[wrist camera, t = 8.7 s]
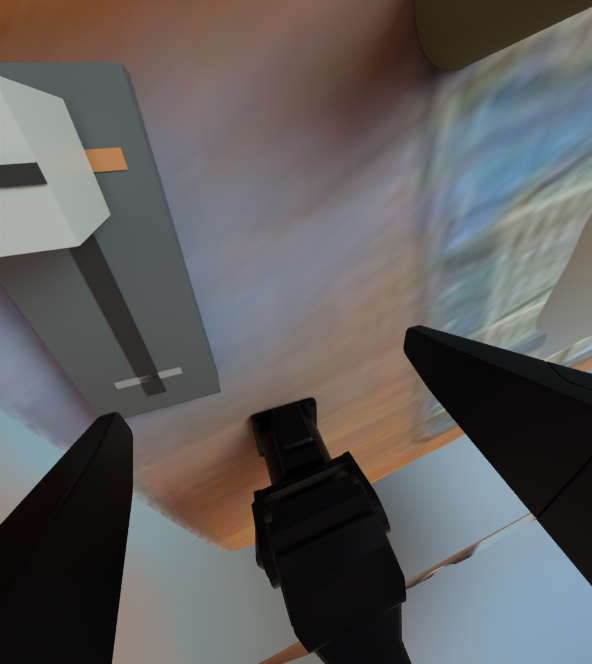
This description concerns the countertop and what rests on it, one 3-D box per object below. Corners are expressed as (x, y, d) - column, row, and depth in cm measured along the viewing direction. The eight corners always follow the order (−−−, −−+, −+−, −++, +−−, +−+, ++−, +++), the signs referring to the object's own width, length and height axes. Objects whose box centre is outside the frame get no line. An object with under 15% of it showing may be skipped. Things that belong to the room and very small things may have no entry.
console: (218, 374, 22) (220, 393, 21) (108, 402, 21) (102, 425, 19) (128, 73, 12) (120, 62, 10) (-109, 75, 10) (-165, 61, 9)
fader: (110, 214, 12) (78, 247, 9) (19, 225, 12) (-63, 265, 8) (62, 98, 10) (-11, 72, 6) (-57, 101, 9) (-224, 73, 5)
